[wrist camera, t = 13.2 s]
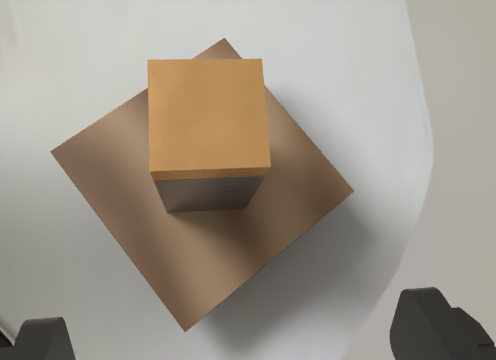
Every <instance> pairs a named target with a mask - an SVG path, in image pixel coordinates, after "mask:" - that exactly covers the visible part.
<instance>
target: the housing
mask: <svg viewBox="0 0 496 360" xmlns="http://www.w3.org/2000/svg"><path fill="white" fill-rule="evenodd" d="M148 110H149V168H150V174H151V176H152V178H153V181H154V183H155V186H156V188H157V190H158V193H159V195H160V198H161V200H162V202H163V205H164V207H165V210H166V212H167V213H170V212H190V211H210V210H230V209H246V207H247V206H248V204H249V202H250V201H251V199H252V197H253V196H254V194H255V193H256V191H257V189H258V188H259V186H260V184H261V183H262V181H263V179H264V178H265V176H266V174H267V173H268V171H269V169H270V168H271V161H270V149H269V137H268V126H267V114H266V102H265V90H264V79H263V67H262V59H190V60H148Z"/></svg>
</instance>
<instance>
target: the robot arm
mask: <svg viewBox="0 0 496 360" xmlns="http://www.w3.org/2000/svg"><path fill="white" fill-rule="evenodd" d="M390 344H391V349H392V352H393V355H394V357H395V359H396V360H496V347H495V346H494V342H493V341H492V339H491V338H490V337H489V335H488V334H487V333H486V331H485V330H484V329H483V327H482V326H481V324H480V323H478V322H477V321H476V320H475V319H474V318H472V317H471V316H470V315H468V314H467V313H466V312H465V311H463V310H462V309H461V308H459V307H458V308H451V306H450V305H449V304H448V302H447V300H446V299H445V298H444V296H443V295H442V293H441V292H440V291H439V290H438V289H437V288H434V287H429V288H418V289H405V290H403V291H402V292H401V294H400V298H399V301H398V305H397V308H396V311H395V315H394V318H393V322H392V326H391V329H390ZM0 360H76V359H75V356H74V352H73V348H72V345H71V341H70V338H69V334H68V331H67V327H66V324H65V321H64V319H63V318H62V317H55V318H43V319H31V320H26V321H25V322H24V323H23V324H22V326H21V328H20V331H19V333H18V336H17V338H16V341H15V344H14V346H12V347H1V348H0Z"/></svg>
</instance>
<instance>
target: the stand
mask: <svg viewBox="0 0 496 360" xmlns="http://www.w3.org/2000/svg"><path fill="white" fill-rule="evenodd" d="M193 59H242V58H241V57H240V56H239V55H238V53H237V52H236V51H235V50H234V49H233V47H232V46H231V45H230V44H229V43H228V42H227V40H226V39H225V38H224V39H222V40H220V41H219V42H217V43H216V44H214V45H213V46H211V47H210V48H208V49H207V50H205V51H204V52H202V53H201V54H199V55H197V56H196V57H194V58H193ZM264 90H265V102H266V114H267V126H268V137H269V149H270V161H271V168H270V169H269V171H268V173H267V174H266V176H265V178H264V179H263V181H262V183H261V184H260V186H259V188H258V189H257V191H256V193H255V194H254V196H253V197H252V199H251V201H250V202H249V204H248V206H247V207H246V209H230V210H210V211H190V212H170V213H167V212H166V210H165V207H164V205H163V202H162V200H161V198H160V195H159V193H158V190H157V188H156V186H155V183H154V181H153V178H152V176H151V174H150V168H149V110H148V88H147V89H145V90H144V91H142V92H141V93H139V94H138V95H136V96H135V97H133V98H132V99H130V100H129V101H127V102H125V103H124V104H122V105H121V106H119V107H118V108H116V109H115V110H113V111H112V112H110V113H109V114H107V115H106V116H104V117H103V118H101V119H99V120H98V121H96V122H95V123H93V124H92V125H90V126H89V127H87V128H86V129H84V130H83V131H81V132H80V133H78V134H76V135H75V136H73V137H72V138H70V139H69V140H67V141H66V142H64V143H63V144H61V145H60V146H58V147H57V148H55V149H54V150H52V151H50V152H51V153H52V155H53V156H54V157H55V159H56V160H57V161H58V163H59V164H60V166H61V167H62V168H63V170H64V171H65V172H66V174H67V175H68V176H69V178H70V179H71V180H72V182H73V183H74V184H75V186H76V187H77V188H78V190H79V191H80V192H81V194H82V195H83V196H84V198H85V199H86V200H87V202H88V203H89V204H90V206H91V207H92V208H93V210H94V211H95V212H96V214H97V215H98V216H99V218H100V219H101V220H102V222H103V223H104V224H105V226H106V227H107V228H108V230H109V231H110V232H111V234H112V235H113V236H114V238H115V239H116V240H117V242H118V243H119V244H120V246H121V247H122V248H123V250H124V251H125V252H126V254H127V255H128V256H129V258H130V259H131V260H132V262H133V263H134V264H135V266H136V267H137V268H138V270H139V271H140V272H141V274H142V275H143V276H144V278H145V279H146V280H147V282H148V283H149V284H150V286H151V287H152V288H153V290H154V291H155V292H156V294H157V295H158V296H159V298H160V299H161V301H162V302H163V303H164V305H165V306H166V307H167V309H168V310H169V311H170V313H171V314H172V315H173V317H174V318H175V319H176V321H177V322H178V323H179V325H180V326H181V327H182V329H183V330H184V331H185V332H186V331H187V330H188V329H190V328H191V327H192V326H193V325H194V324H196V323H197V322H198V321H199V320H200V319H202V318H203V317H204V316H205V315H206V314H208V313H209V312H210V311H211V310H212V309H214V308H215V307H216V306H217V305H218V304H220V303H221V302H222V301H223V300H224V299H226V298H227V297H228V296H229V295H230V294H232V293H233V292H234V291H235V290H236V289H238V288H239V287H240V286H241V285H242V284H244V283H245V282H246V281H247V280H248V279H249V278H251V277H252V276H253V275H254V274H255V273H257V272H258V271H259V270H260V269H261V268H263V267H264V266H265V265H266V264H267V263H269V262H270V261H271V260H272V259H273V258H275V257H276V256H277V255H278V254H279V253H281V252H282V251H283V250H284V249H285V248H287V247H288V246H289V245H290V244H291V243H293V242H294V241H295V240H296V239H297V238H299V237H300V236H301V235H302V234H303V233H305V232H306V231H307V230H308V229H309V228H311V227H312V226H313V225H314V224H315V223H317V222H318V221H319V220H320V219H321V218H323V217H324V216H325V215H326V214H327V213H329V212H330V211H331V210H332V209H333V208H335V207H336V206H337V205H338V204H339V203H341V202H342V201H343V200H344V199H345V198H347V197H348V196H349V195H350V194H351V193H353V192H354V190H353V189H352V188H351V187H350V186H349V185H348V183H347V182H346V181H345V180H344V179H343V177H342V176H341V175H340V174H339V173H338V172H337V170H336V169H335V168H334V167H333V166H332V164H331V163H330V162H329V161H328V160H327V159H326V157H325V156H324V155H323V154H322V153H321V151H320V150H319V149H318V148H317V147H316V146H315V144H314V143H313V142H312V141H311V140H310V138H309V137H308V136H307V135H306V134H305V133H304V131H303V130H302V129H301V128H300V127H299V125H298V124H297V123H296V122H295V121H294V120H293V118H292V117H291V116H290V115H289V114H288V112H287V111H286V110H285V109H284V108H283V107H282V105H281V104H280V103H279V102H278V101H277V99H276V98H275V97H274V96H273V95H272V94H271V92H270V91H269V90H268V89H267V88H266V86H265V85H264Z"/></svg>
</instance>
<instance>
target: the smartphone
mask: <svg viewBox="0 0 496 360" xmlns="http://www.w3.org/2000/svg"><path fill="white" fill-rule="evenodd" d="M14 344H15V340H14V339H13V338H12V337H11V336H10V335H9V334H8V333H7V332H6V331H5V330H4V329H3V328H2V327H1V325H0V348H1V347H12V346H14Z"/></svg>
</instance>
